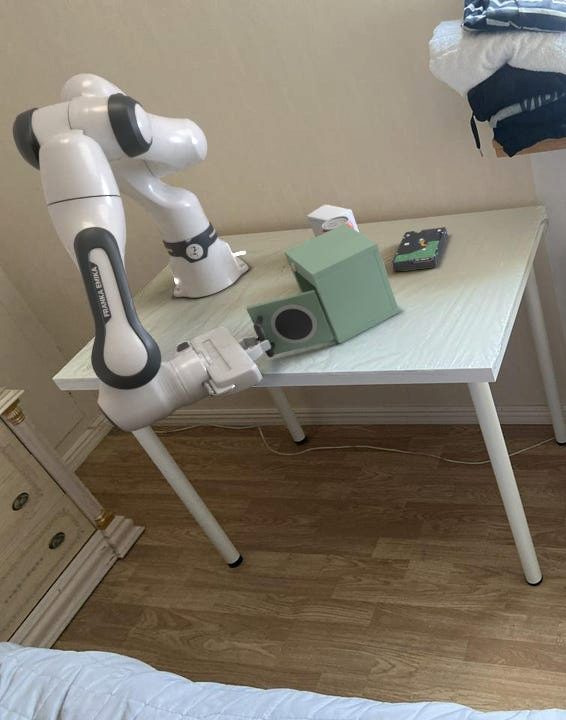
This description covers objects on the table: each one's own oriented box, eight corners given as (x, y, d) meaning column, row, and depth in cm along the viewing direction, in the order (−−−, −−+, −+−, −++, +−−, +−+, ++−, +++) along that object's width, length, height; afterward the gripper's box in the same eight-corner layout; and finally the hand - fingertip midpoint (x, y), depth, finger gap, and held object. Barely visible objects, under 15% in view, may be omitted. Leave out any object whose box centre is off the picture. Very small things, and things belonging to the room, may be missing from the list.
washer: (338, 344, 138) (310, 275, 129) (309, 318, 149) (282, 252, 140) (399, 312, 143) (377, 243, 134) (367, 288, 154) (344, 223, 145)
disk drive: (407, 242, 169) (394, 272, 158) (404, 231, 168) (390, 262, 156) (448, 236, 167) (438, 267, 155) (446, 226, 165) (435, 256, 154)
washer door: (332, 351, 134) (312, 302, 127) (266, 367, 134) (242, 320, 128) (333, 337, 138) (314, 289, 131) (269, 353, 138) (246, 306, 132)
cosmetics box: (319, 253, 174) (305, 215, 168) (338, 241, 178) (325, 203, 172) (346, 260, 168) (332, 220, 162) (365, 247, 172) (352, 208, 165)
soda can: (363, 279, 158) (344, 228, 151) (334, 282, 160) (314, 231, 153) (372, 263, 164) (355, 213, 156) (344, 266, 166) (326, 216, 158)
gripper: (204, 385, 117) (279, 347, 122) (175, 339, 132) (243, 307, 137) (219, 413, 121) (292, 375, 126) (189, 365, 136) (255, 333, 141)
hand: (266, 339), depth 132 cm, fingers closed on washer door
